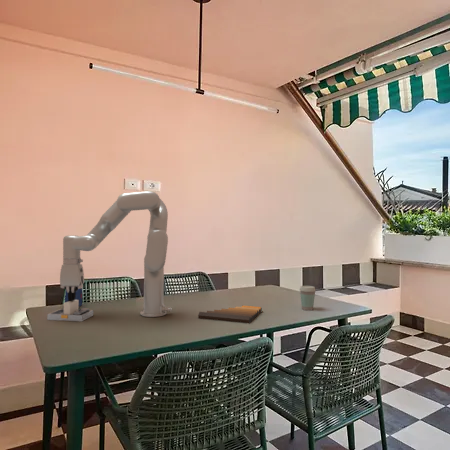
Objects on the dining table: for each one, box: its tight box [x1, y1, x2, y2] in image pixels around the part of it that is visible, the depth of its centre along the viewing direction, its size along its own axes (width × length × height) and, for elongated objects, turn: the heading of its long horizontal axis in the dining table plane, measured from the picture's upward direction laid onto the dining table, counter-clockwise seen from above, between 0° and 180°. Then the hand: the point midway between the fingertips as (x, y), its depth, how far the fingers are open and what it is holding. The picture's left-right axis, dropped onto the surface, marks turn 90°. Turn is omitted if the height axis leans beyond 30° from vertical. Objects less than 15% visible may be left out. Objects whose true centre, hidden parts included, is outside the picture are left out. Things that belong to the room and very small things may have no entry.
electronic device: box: [64, 288, 83, 307], centre depth 201 cm, size 10×5×20 cm, turn 168°
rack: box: [46, 307, 94, 322], centre depth 179 cm, size 17×11×4 cm
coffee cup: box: [299, 285, 317, 311], centre depth 203 cm, size 8×8×12 cm
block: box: [63, 300, 80, 315], centre depth 179 cm, size 3×8×7 cm, turn 173°
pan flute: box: [197, 305, 263, 324], centre depth 188 cm, size 25×3×25 cm
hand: (71, 300), depth 179 cm, fingers closed
